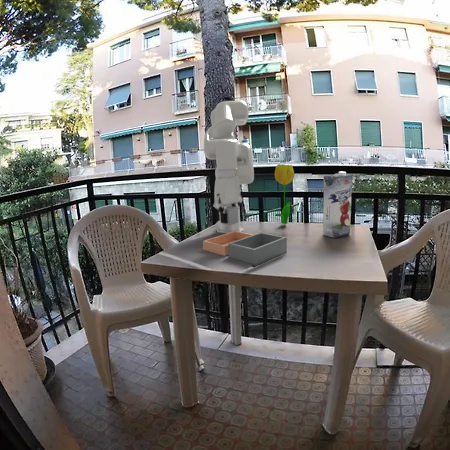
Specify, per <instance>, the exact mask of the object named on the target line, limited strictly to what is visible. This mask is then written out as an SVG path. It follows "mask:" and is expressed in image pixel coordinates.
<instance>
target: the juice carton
mask: <svg viewBox="0 0 450 450" xmlns="http://www.w3.org/2000/svg"><path fill="white" fill-rule="evenodd" d="M353 179H354V174H351V173H347V172H346V171H342V170H341V171H338V172H337V173H334V174H327V175H326V174H325V175H323V204H322V205H323V208H322V210H323V211H322V213H323V214H322V216H323V217H322V220H323V221H322V234H323V236H327V237H330V238H333V239H338V238H339V239H340V238H343V237H346V236H350V234H351V216H352V215H351V214H352V194H353V193H352V192H353V190H352V189H353Z"/></svg>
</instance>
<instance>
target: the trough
mask: <svg viewBox="0 0 450 450" xmlns="http://www.w3.org/2000/svg"><path fill="white" fill-rule="evenodd" d="M252 235H254V234H253V233H247V232H244V231H241V232H238V231H233V232H230V233H223V234H221V235H217V236H214V237H211V238H208V239H205V240H202V248H203V249H202V250H203V251H206V252H210V253H213V254H217V255H220V256H222V257H223V256H229V249H228V243H231V242H234V241H237V240H240V239H243V238H246V237H249V236H252Z"/></svg>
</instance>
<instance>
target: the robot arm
mask: <svg viewBox="0 0 450 450" xmlns="http://www.w3.org/2000/svg"><path fill="white" fill-rule="evenodd" d="M249 114H250V112H249V107H248V104H247V102H246V101H244V100H225V101H221V102H219V103H217V105H216V106H215V108H214V109H213V110H211V112H210V122H211V126H209V128H208V129H207V130H206V131H205V134H204V137H203V153H204V156H205V158H206V159H208V160H215V162H216V168H215V171H214V172H215V173H214V175H215V181H214V192H213V193H214V194H213V195H214V203H213V205H212V206H213V208H215V209H216V210H217V211H218V214H219V219H220V218H221V223H227V222H228V221H227V213H226V208H227V206H233V207H238V217H239V223H235V224H232V225H226V224H221V223H220V220H217V222H216V223H215V226H218V228H217V229H216V232H217V233H222V234H227V233H230V232H233V231H238V232H244V230H245V229H244V227H242V226H241V216H240V215H241V213H240V212H241V211H240V205H241V203H242V202H243V197H242V195H241V187H240V186H241V185H248V184H252V183H253V182H254V180H255V170H254V169H255V168H254V161H253V150H252V147H251V145H250V144H249V143H244V142H241V143H240V142H239V140H238V139H237V138H236V136H235V134H234V132H235V130H236V126H237V127H238V126H245V125H246V124H247V122H248V119H249ZM222 207H223V208H222Z"/></svg>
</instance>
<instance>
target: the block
mask: <svg viewBox="0 0 450 450" xmlns="http://www.w3.org/2000/svg"><path fill="white" fill-rule="evenodd" d="M222 208H223V207H222ZM226 213H227V221H228V222H227V223H221V218H220V217H219V221H220V223H221V224H226V225H232V224H235V223H239V217H238V207H233V206H227V208H226Z"/></svg>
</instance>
